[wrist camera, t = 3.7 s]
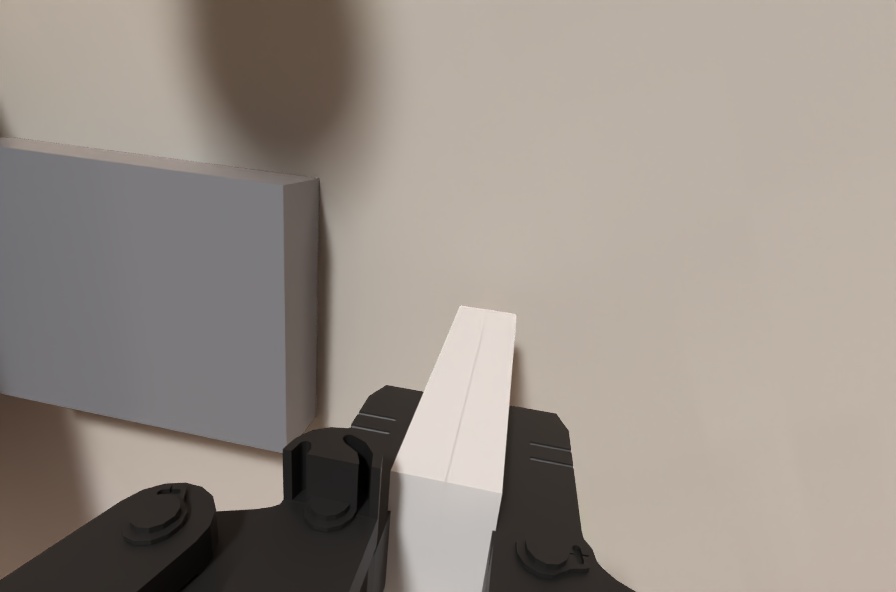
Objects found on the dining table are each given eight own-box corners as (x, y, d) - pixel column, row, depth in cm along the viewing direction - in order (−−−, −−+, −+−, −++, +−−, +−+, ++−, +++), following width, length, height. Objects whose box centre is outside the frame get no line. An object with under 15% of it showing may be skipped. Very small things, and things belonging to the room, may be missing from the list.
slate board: (325, 176, 14) (283, 185, 11) (321, 409, 16) (286, 454, 14) (28, 137, 15) (-65, 137, 13) (71, 359, 18) (0, 393, 15)
